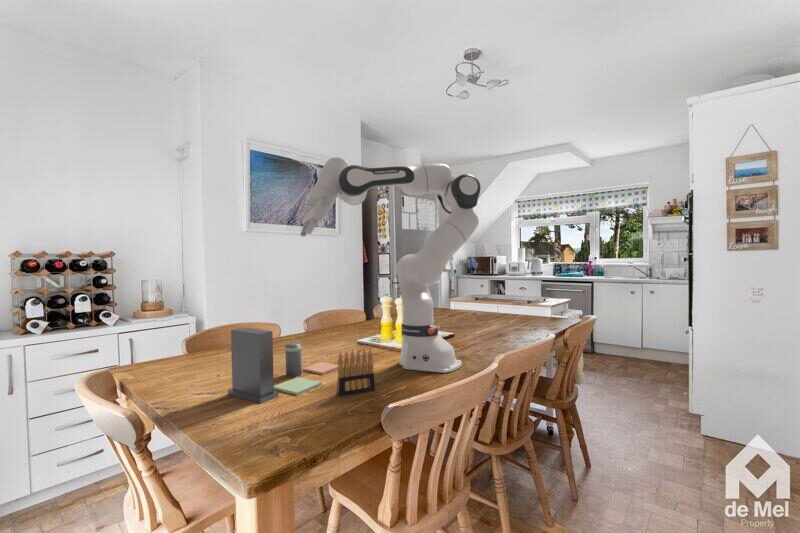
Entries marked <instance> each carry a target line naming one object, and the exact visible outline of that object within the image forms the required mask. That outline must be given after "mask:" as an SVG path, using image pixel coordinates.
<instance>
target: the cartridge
mask: <svg viewBox="0 0 800 533" xmlns="http://www.w3.org/2000/svg"><path fill="white" fill-rule="evenodd" d="M302 347H303V346H302V343H301V342H289V343H285V346H284V351H285V376H286V377H287V376H288V378H297V377H296V376H298V377H300V376H302V375H303V368H302V366H303V364H302Z"/></svg>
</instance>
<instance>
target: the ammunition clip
mask: <svg viewBox="0 0 800 533" xmlns="http://www.w3.org/2000/svg"><path fill="white" fill-rule="evenodd" d="M350 352H351V353H350V357H349V354H348V352H347V351H346V352H345V354H344V358H343V355H342V353H341V351H340V352H339V354H338V359H337V360H338V361H337V362H338V363H337V365H338V369H337V380H336V381H337V382H336V383H337V384H336V395H337V396H338V397H345V396H350V395H356V394H357V395H358V394H362V393H368V392H369V393H370V392H375V391H376V389H375V387H376V386H375V373H374V361H373V359H374V358H373V352H372V349H371V348H369V349H368V354H367V352H366V349H363V351H362V354H361V353H360V350H357V352H356V355H355V353H354V351H353V350H352V351H350ZM361 355H362V356H361ZM355 356H356V358H355ZM361 357H362V358H361ZM349 358H350V359H349ZM343 359H344V362H343ZM349 361H350V362H349Z"/></svg>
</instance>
